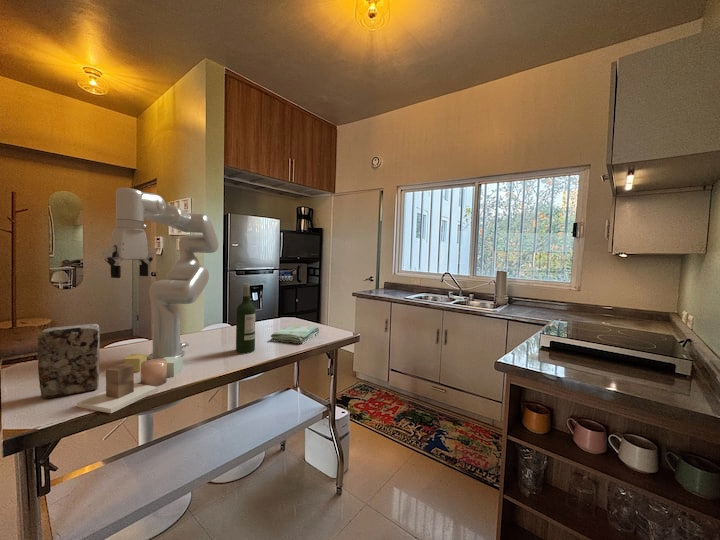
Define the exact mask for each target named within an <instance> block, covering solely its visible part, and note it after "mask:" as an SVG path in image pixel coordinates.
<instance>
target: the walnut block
mask: <svg viewBox="0 0 720 540" xmlns="http://www.w3.org/2000/svg"><path fill="white" fill-rule="evenodd" d="M134 375H135V372H134V365H127V364H124V363H120V364H117V365H114V366H112V367H111V366H110V367H108V368H106V369H105V391H106V397H112V398H118V399H119V398H121V397H123V396H125V395H128V394H130V393H132V392H134V383H135V381H134V380H135V377H134Z"/></svg>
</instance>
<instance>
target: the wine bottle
mask: <svg viewBox="0 0 720 540" xmlns="http://www.w3.org/2000/svg"><path fill="white" fill-rule="evenodd" d="M250 286H251V285H250V283H243V285H242V287H243V288H242V301H241V303H240V304H239V305H237V307H236V309H235V310H236V316H235V317H236V320H235V321H236V322H235V324H236V325H235V327H236V328H235V330H236V331H235V352H236V353H238V354H242V353H245V354H250V353H253V352H255V350H256V307H255V305H254V304H253V302H252V303H251V298H250V297H251V296H250V293H251V291H250V288H251V287H250Z"/></svg>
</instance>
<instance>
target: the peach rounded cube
mask: <svg viewBox="0 0 720 540" xmlns="http://www.w3.org/2000/svg"><path fill="white" fill-rule="evenodd" d="M167 381H168V377H167V360H166V359H151V360H148V359H147V361H144V362H142V363H141V371H140V384H143V385H149V386H155V387H160V386H163V385H164V384H166V383H167Z"/></svg>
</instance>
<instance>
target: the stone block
mask: <svg viewBox="0 0 720 540" xmlns="http://www.w3.org/2000/svg"><path fill="white" fill-rule="evenodd" d="M100 331H101V329H100V325H99V324H98V323H88V324H76V325H67V326H66V325H64V326H56V327H49V328H46V329H43V330H41V331H39V333H38V336H37V357H38V359H37V368H38V369H37V370H38V381H39V389H40V390H39V391H40V394H41V395H40V397H41V398H42V399H53V398H57V397H62V396H69V395H75V394H79V393H85V392H89V391H94V390H98V389H99V386H100V349H101V348H100V342H101V341H100V340H101V339H100V337H101V336H100V335H101V333H100Z"/></svg>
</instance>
